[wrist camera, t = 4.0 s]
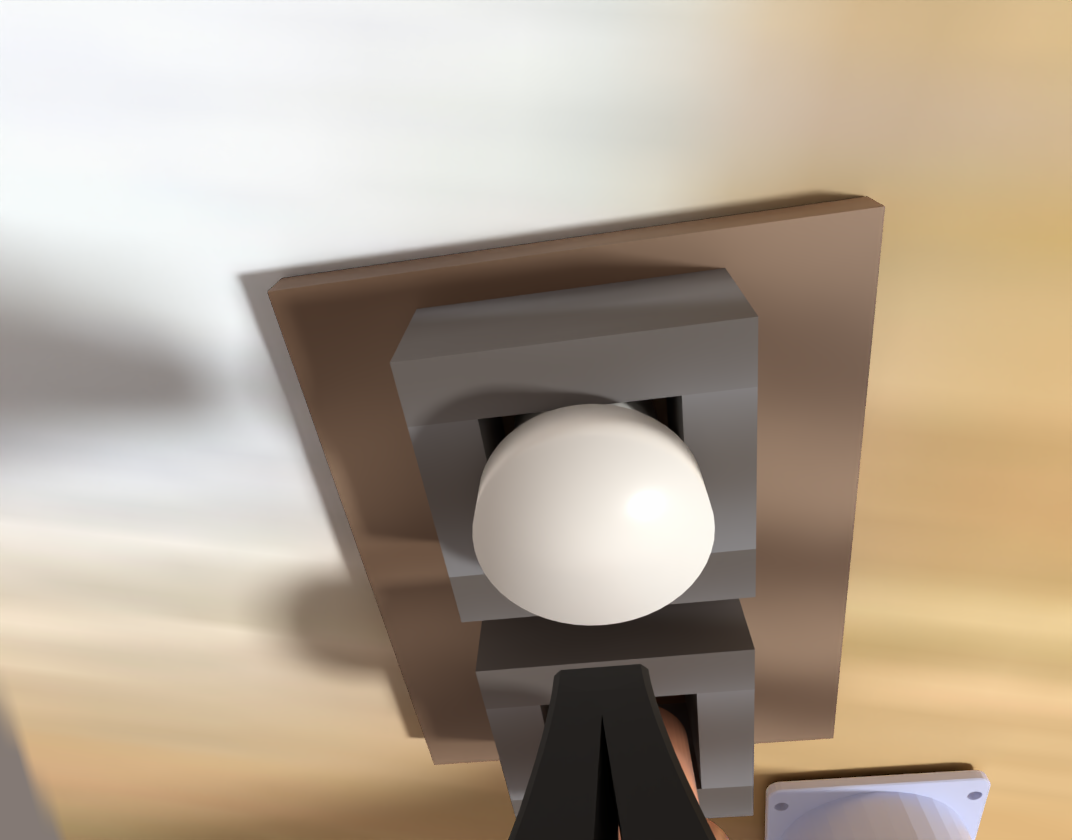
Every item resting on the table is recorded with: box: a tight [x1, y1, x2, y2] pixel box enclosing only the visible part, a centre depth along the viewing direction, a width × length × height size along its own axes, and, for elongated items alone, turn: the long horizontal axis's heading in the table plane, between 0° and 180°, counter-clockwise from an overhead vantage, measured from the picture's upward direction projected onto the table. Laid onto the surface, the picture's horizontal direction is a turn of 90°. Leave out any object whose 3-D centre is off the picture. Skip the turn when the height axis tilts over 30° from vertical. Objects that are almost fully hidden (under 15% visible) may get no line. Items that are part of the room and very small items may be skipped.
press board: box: [268, 196, 885, 818], centre depth 19 cm, size 18×14×4 cm
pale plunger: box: [472, 399, 715, 625], centre depth 16 cm, size 5×5×4 cm
